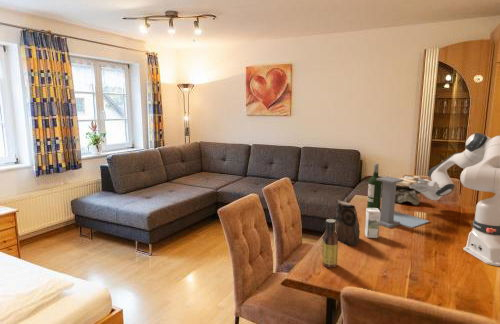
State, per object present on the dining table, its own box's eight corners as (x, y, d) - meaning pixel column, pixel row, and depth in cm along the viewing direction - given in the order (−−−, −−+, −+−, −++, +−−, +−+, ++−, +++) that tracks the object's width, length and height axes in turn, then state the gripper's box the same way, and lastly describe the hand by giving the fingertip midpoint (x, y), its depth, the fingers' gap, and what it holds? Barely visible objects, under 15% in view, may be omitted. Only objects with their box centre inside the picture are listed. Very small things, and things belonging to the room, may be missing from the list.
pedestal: (384, 219, 194) (387, 176, 190) (399, 224, 186) (403, 179, 182) (373, 222, 189) (376, 178, 185) (389, 228, 181) (392, 181, 176)
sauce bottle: (326, 260, 144) (327, 216, 140) (339, 264, 140) (341, 219, 136) (318, 265, 139) (320, 220, 135) (332, 270, 135) (334, 223, 131)
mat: (392, 211, 210) (392, 210, 210) (429, 222, 190) (429, 221, 190) (374, 216, 200) (374, 215, 200) (411, 228, 180) (411, 227, 180)
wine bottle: (364, 208, 216) (367, 162, 211) (374, 207, 218) (377, 162, 213) (372, 211, 208) (375, 165, 203) (382, 210, 211) (386, 164, 206)
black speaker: (357, 247, 156) (359, 207, 153) (330, 243, 161) (332, 203, 158) (360, 238, 167) (362, 200, 164) (335, 234, 172) (336, 197, 169)
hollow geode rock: (376, 205, 237) (374, 194, 226) (379, 190, 243) (377, 179, 233) (420, 210, 223) (420, 198, 212) (421, 194, 229) (422, 182, 219)
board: (410, 178, 203) (410, 175, 203) (426, 181, 195) (426, 178, 195) (391, 182, 193) (391, 179, 193) (407, 185, 185) (407, 182, 184)
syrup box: (375, 234, 172) (377, 207, 170) (378, 238, 166) (380, 211, 164) (364, 233, 173) (365, 207, 170) (367, 238, 167) (368, 210, 165)
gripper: (440, 195, 196) (430, 186, 188) (407, 187, 213) (397, 179, 205) (443, 185, 197) (434, 176, 189) (411, 178, 213) (401, 170, 206)
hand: (414, 178), depth 197 cm, fingers closed on board, 3 cm apart
